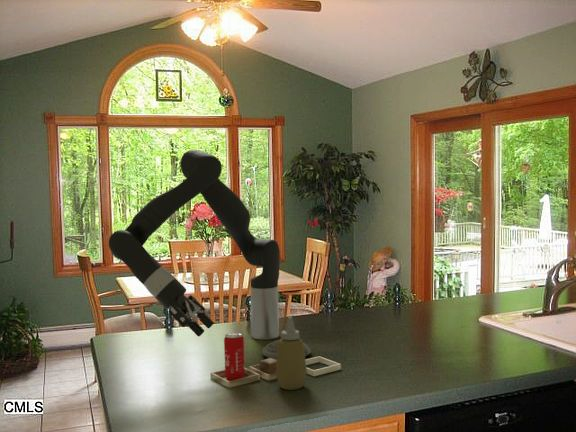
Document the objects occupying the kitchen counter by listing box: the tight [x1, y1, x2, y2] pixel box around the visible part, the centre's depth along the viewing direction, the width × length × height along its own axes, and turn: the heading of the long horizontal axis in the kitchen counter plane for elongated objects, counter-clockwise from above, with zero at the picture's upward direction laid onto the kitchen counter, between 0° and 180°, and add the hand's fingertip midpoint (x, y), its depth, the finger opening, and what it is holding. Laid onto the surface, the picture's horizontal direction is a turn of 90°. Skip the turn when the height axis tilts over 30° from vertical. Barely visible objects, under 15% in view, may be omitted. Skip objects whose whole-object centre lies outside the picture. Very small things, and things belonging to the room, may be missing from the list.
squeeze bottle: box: [276, 316, 307, 391], centre depth 155 cm, size 8×8×18 cm
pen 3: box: [305, 355, 342, 377], centre depth 169 cm, size 10×10×2 cm
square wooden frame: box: [248, 363, 278, 382], centre depth 167 cm, size 10×10×2 cm
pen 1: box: [210, 366, 261, 389], centre depth 162 cm, size 10×10×2 cm
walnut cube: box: [259, 357, 277, 374], centre depth 165 cm, size 4×4×4 cm
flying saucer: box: [261, 338, 312, 359], centre depth 183 cm, size 15×15×6 cm
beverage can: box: [223, 332, 246, 381], centre depth 161 cm, size 5×5×12 cm
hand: (206, 329), depth 162 cm, fingers open, 8 cm apart
